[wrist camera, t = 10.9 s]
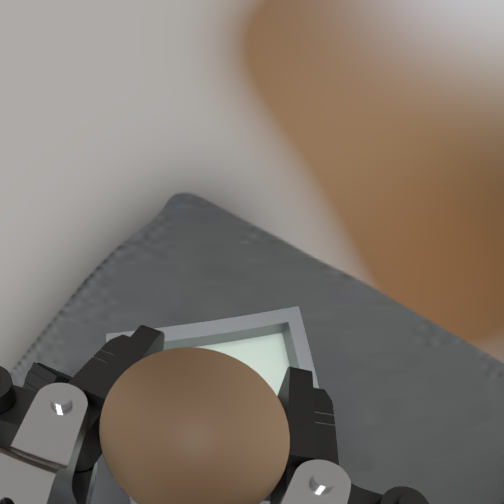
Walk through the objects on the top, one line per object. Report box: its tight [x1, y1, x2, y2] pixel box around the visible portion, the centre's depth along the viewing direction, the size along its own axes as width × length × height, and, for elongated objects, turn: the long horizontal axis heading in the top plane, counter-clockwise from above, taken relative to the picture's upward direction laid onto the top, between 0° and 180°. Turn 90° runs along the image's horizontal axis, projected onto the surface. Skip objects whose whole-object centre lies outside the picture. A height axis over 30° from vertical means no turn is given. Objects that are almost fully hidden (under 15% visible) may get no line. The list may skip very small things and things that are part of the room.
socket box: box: [106, 306, 319, 504], centre depth 21 cm, size 14×14×5 cm
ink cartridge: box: [23, 362, 73, 391], centre depth 19 cm, size 5×2×8 cm, turn 163°
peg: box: [99, 347, 290, 504], centre depth 9 cm, size 4×4×8 cm
